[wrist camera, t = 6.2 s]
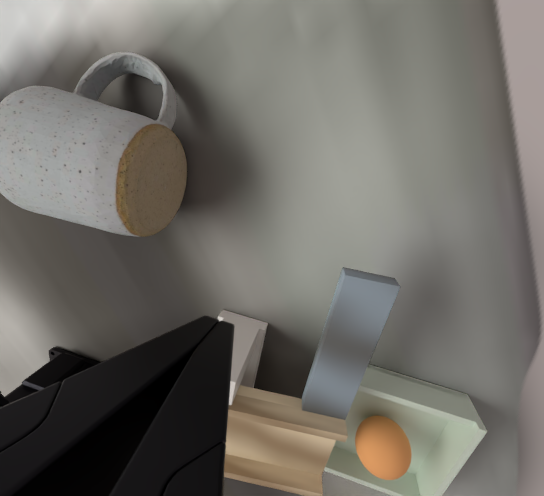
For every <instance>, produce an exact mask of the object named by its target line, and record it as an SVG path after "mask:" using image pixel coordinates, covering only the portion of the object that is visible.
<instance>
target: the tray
mask: <svg viewBox="0 0 544 496" xmlns="http://www.w3.org/2000/svg"><path fill="white" fill-rule="evenodd" d="M376 415H377V416H384V417H387V418H389V419H391V420H393V421H394V422H396V423H397V424H398V425H399V426H400V427H401V428H402V430H403V431H404V432H405V434H406V436H407V438H408V440H409V443H410V446H411V454H412V456H411V463H410V466H409V468H408V470H407V472H406V473H405V474H404V475H403V476H401V477H400V478H398V479H395V480H384V479H381V478H378V477H376V476H374V475H373V474H372V473H370V472H369V471H368V470H367V469H366V468H365V467H364V465H363V464H362V462H361V460H360V459H359V456H358V454H357V451H356V446H355V436H356V431H357V429H358V427H359V425H360V424H361V422H362V421H363V420H365V419H366V418H368V417H371V416H376ZM345 421H346V427H347V433H348V437H347V440H346V442H342V441H337V440H336V442H335V444H334V447H333V449H332V452H331V454H330V457H329V459H328V461H327V464H326V466H325V469H324V471H326V472H329V473H332V474H335V475H337V476H340V477H343V478H345V479H348V480H351V481H354V482H356V483H359V484H362V485H365V486H367V487H370V488H373V489H376V490H378V491H381V492H384V493H386V494H389V495H392V496H442V495H443V493H444V492H445V491H446V489H447V488H448V486H449V485H450V483H451V482H452V481H453V479H454V478H455V476H456V475H457V474H458V472H459V471H460V469H461V468H462V467H463V465H464V464H465V462H466V461H467V460H468V458H469V457H470V455H471V454H472V453H473V451H474V450H475V448H476V447H477V445H478V444H479V443H480V441H481V440H482V438H483V437H484V436H485V434H486V433H487V430H486V428H485V426H484V424H483V422H482V420H481V419H480V417H479V415H478V413H477V411H476V409H475V407H474V406H473V404H472V402H471V400H470V398H469V396H468V394H465V393H462V392H459V391H455V390H452V389H449V388H445V387H442V386H439V385H436V384H432V383H429V382H426V381H422V380H419V379H416V378H413V377H409V376H406V375H403V374H399V373H396V372H393V371H390V370H386V369H383V368H380V367H377V366H373V365H370V364H368V367H367V369H366V371H365V374H364V376H363V379H362V381H361V383H360V386H359V388H358V391H357V393H356V395H355V398H354V400H353V403H352V405H351V408H350V410H349V412H348V415H347V417H346V420H345Z"/></svg>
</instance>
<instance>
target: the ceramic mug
mask: <svg viewBox="0 0 544 496" xmlns="http://www.w3.org/2000/svg"><path fill="white" fill-rule="evenodd" d="M126 73H129V74H130V73H135V74H138V75H140V76H143V77H146V78H148V79H150V80H152V82H153V83H154V84H156V85H162V88H163V94H164V95H163V101H162V108H161V110H160V113H159V117H158V119H157V120H153V119H150V118H148V117H146V116H143V115H140V114H137V113H133V112H130V111H126V110H122V109H118V108H115V107H112V106H108V105H105V104H103V103H100V102H97V100H98V98H99V97H100V95H101V93H102V92H103V90H104V89H105V88H106V87H107V86H108V84H110V83H111V82H112V81H113V80H114V79H116V78H117V77H119V76H121V75H123V74H126ZM176 115H177V98H176V93H175V91H174V88H173V86H172V84H171V83H170V81H169V80H168V78H167V77H166V75H165V74H164V72H163V71H162V70H161V69H160V67H159V66H158V65H157V64H155V63H154V62H153V61H152V60H150V59H148V58H146V57H144V56H142V55H139V54H136V53H131V52H116V53H112V54H109V55H107V56H105V57H103V58H101V59H100V60H99V61H97V62H96V63H94V64H93V65H92V66H91V67H90V68H89V69H88V70H87V72H86V73H85V74H84V75H83V76H82V78H81V79H80V81H79V83H78V85H77V86H76V88H75V90H74V92H73V93H69V92H66V91H63V90H60V89H57V88H53V87H46V86H30V87H26V88H23V89H21V90H18V91H15V92H12V93H11V94H10V95H9V96H7V97H6V98H4V99H3V100H2V101H1V103H0V192H1V194H2V195H4V196H5V197H6V198H7V199H8V200H9V201H11V202H12V203H14V204H15V205H17V206H19V207H21V208H23V209H26V210H28V211H31V212H35V213H39V214H43V215H48V216H52V217H55V218H59V219H63V220H67V221H71V222H74V223H78V224H82V225H86V226H90V227H94V228H98V229H101V230H105V231H108V232H112V233H116V234H121V235H128V236H139V237H144V236H150V235H154V234H156V233H158V232H159V231H161V230H162V229H164V228H165V227H166V226H167V225H168V224H169V223H170V222H171V221H172V219H173V218H174V216H175V215H176V213H177V211H178V209H179V207H180V205H181V202H182V200H183V196H184V192H185V188H186V181H187V161H186V156H185V152H184V149H183V147H182V144H181V142H180V140H179V139H178V137H177V136H176V135H175V134H174V133H173V131H172V127H173V125H174V123H175V120H176Z"/></svg>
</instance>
